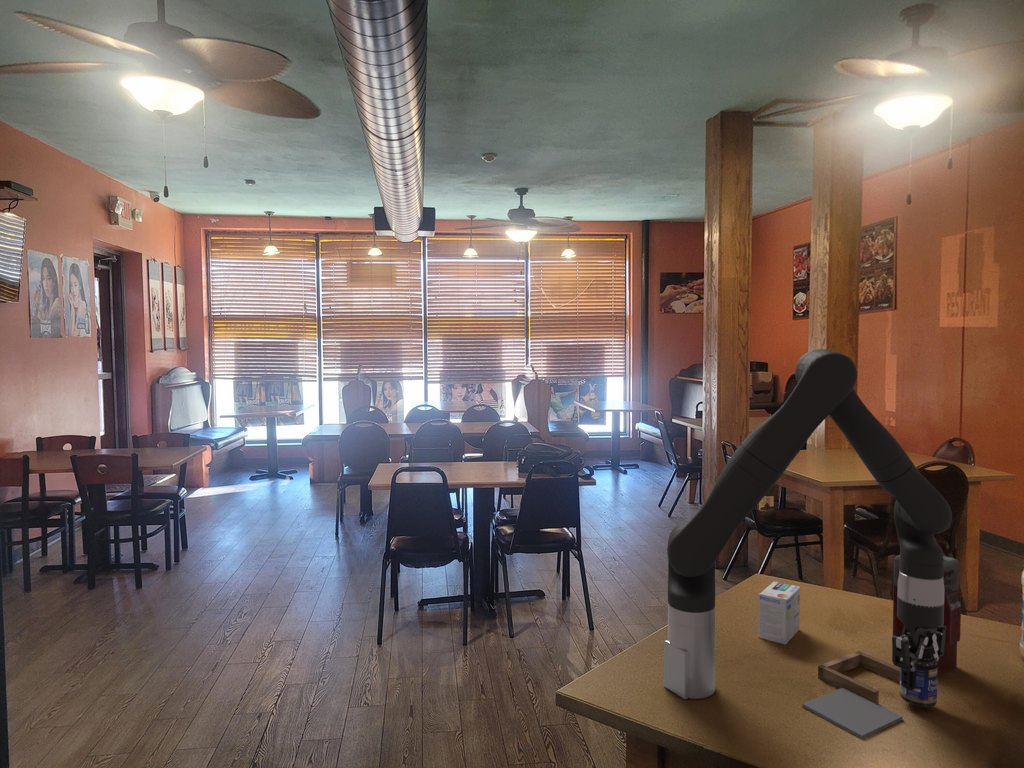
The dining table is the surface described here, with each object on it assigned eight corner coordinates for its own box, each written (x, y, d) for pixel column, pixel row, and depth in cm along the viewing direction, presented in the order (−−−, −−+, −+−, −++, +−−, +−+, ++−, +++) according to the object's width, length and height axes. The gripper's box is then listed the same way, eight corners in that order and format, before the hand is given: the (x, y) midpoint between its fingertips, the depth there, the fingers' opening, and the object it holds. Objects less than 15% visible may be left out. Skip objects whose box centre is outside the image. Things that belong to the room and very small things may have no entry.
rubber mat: (861, 739, 116) (861, 735, 116) (802, 706, 126) (802, 703, 126) (902, 719, 122) (902, 716, 122) (842, 690, 132) (842, 687, 132)
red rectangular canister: (946, 682, 135) (950, 547, 133) (891, 660, 144) (893, 533, 143) (969, 671, 139) (972, 539, 138) (913, 650, 149) (916, 527, 147)
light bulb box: (772, 622, 165) (772, 580, 164) (800, 629, 160) (801, 586, 160) (757, 637, 157) (757, 593, 156) (786, 645, 152) (787, 599, 152)
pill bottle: (935, 712, 122) (936, 653, 121) (897, 701, 126) (898, 644, 125) (938, 697, 127) (939, 641, 126) (901, 688, 130) (902, 633, 130)
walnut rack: (874, 705, 127) (874, 692, 127) (817, 677, 137) (818, 665, 137) (915, 686, 133) (915, 674, 133) (858, 662, 144) (858, 650, 144)
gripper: (918, 611, 118) (916, 703, 119) (962, 596, 125) (960, 682, 126) (878, 598, 125) (876, 684, 126) (921, 583, 132) (919, 666, 133)
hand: (918, 683), depth 126 cm, fingers closed on pill bottle, 6 cm apart
